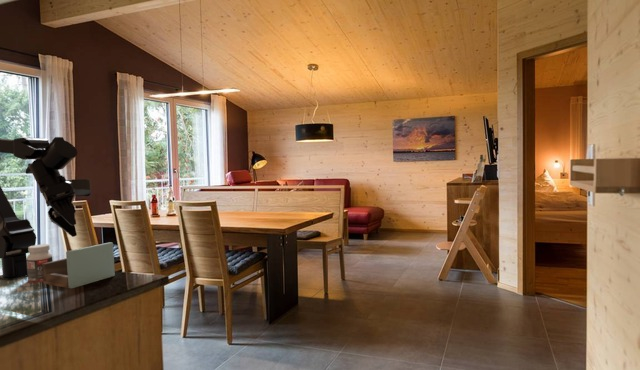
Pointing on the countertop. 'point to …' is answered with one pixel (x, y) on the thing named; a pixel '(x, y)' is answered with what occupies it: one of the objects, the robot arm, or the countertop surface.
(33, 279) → the pill bottle
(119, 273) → the countertop surface
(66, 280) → the wooden open crate
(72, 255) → the pale green rectangular panel
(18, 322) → the countertop surface
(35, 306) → the countertop surface
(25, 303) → the countertop surface
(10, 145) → the robot arm
